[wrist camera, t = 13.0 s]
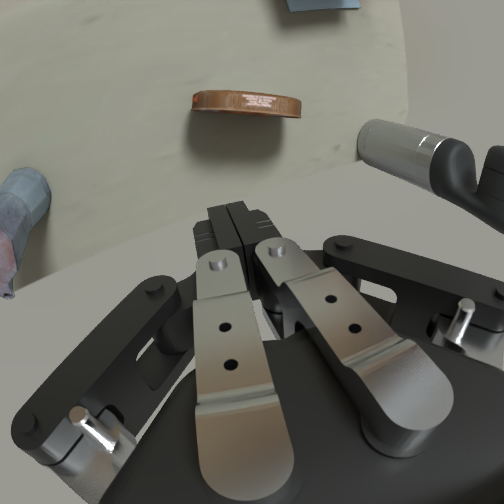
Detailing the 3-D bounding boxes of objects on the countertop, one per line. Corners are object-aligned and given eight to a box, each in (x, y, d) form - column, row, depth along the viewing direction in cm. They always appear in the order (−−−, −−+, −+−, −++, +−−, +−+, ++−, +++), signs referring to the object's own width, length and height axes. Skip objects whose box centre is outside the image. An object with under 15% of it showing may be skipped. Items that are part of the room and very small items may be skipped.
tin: (187, 111, 39) (196, 114, 32) (188, 90, 38) (198, 87, 31) (284, 118, 44) (311, 123, 37) (287, 98, 43) (314, 100, 36)
